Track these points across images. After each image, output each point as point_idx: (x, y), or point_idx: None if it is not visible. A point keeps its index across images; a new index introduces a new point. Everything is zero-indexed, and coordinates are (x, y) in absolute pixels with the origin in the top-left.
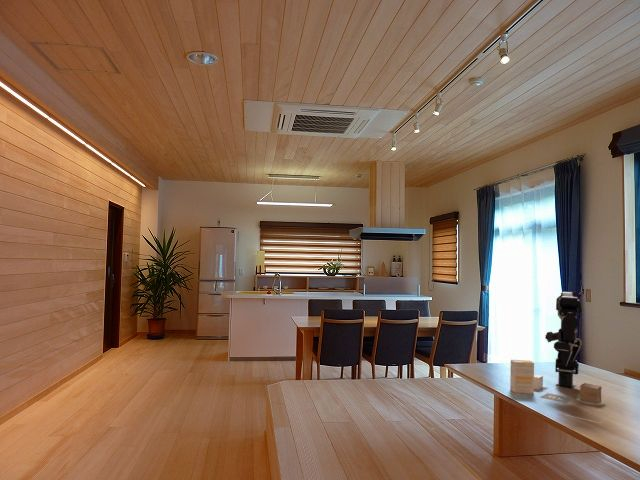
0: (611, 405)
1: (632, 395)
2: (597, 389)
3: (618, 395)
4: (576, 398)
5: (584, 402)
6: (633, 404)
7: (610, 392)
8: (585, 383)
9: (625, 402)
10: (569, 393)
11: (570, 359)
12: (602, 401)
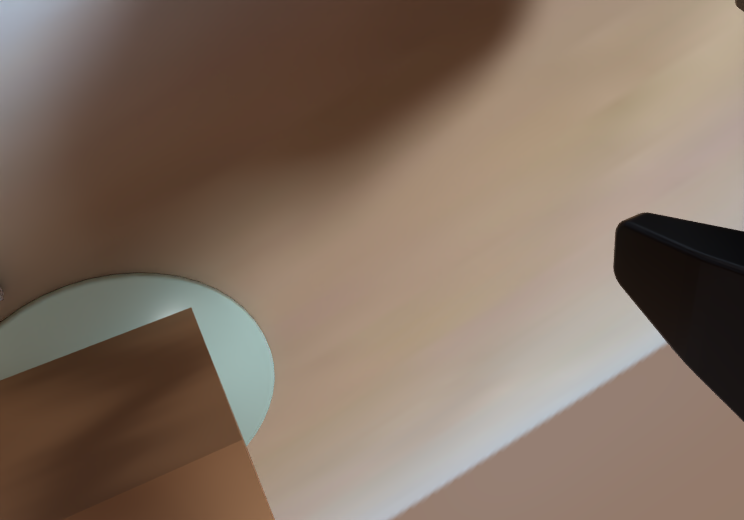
0: None
1: None
2: None
3: None
4: (47, 303)
5: None
6: (438, 483)
7: (686, 201)
8: (214, 466)
9: (446, 440)
10: (267, 55)
11: (691, 301)
12: (250, 433)
